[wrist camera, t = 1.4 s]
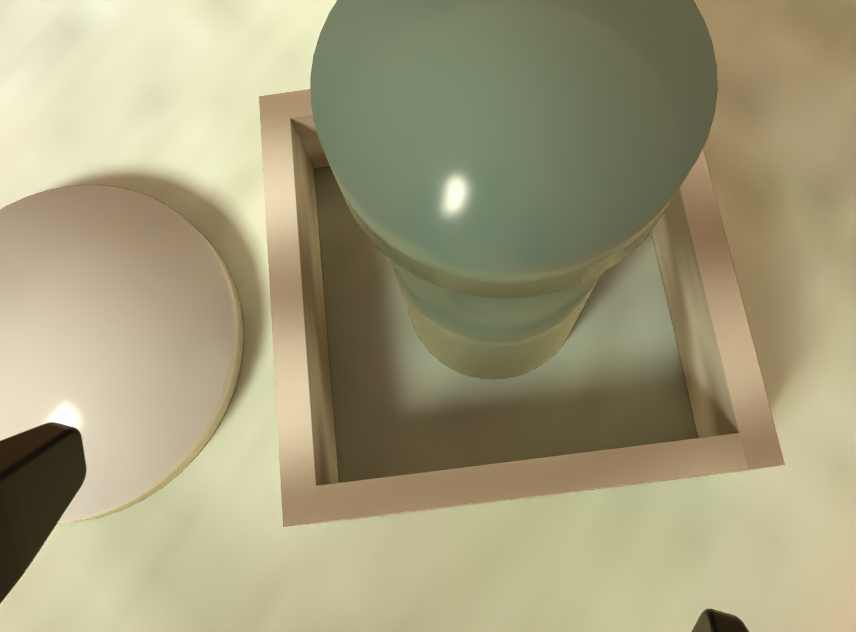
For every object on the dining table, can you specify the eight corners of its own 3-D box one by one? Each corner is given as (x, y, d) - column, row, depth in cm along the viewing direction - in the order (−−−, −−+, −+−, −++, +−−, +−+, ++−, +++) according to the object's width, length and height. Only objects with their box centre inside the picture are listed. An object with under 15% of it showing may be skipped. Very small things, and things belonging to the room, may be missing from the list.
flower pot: (609, 379, 23) (764, 229, 11) (405, 405, 23) (325, 288, 11) (572, 193, 25) (668, -117, 13) (385, 219, 25) (297, -60, 13)
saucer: (251, 500, 23) (239, 499, 22) (-95, 543, 23) (-125, 545, 22) (237, 179, 26) (226, 164, 25) (-66, 221, 27) (-90, 208, 26)
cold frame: (737, 471, 22) (784, 464, 19) (312, 524, 23) (283, 526, 19) (648, 97, 26) (674, 36, 23) (286, 148, 26) (259, 96, 23)
